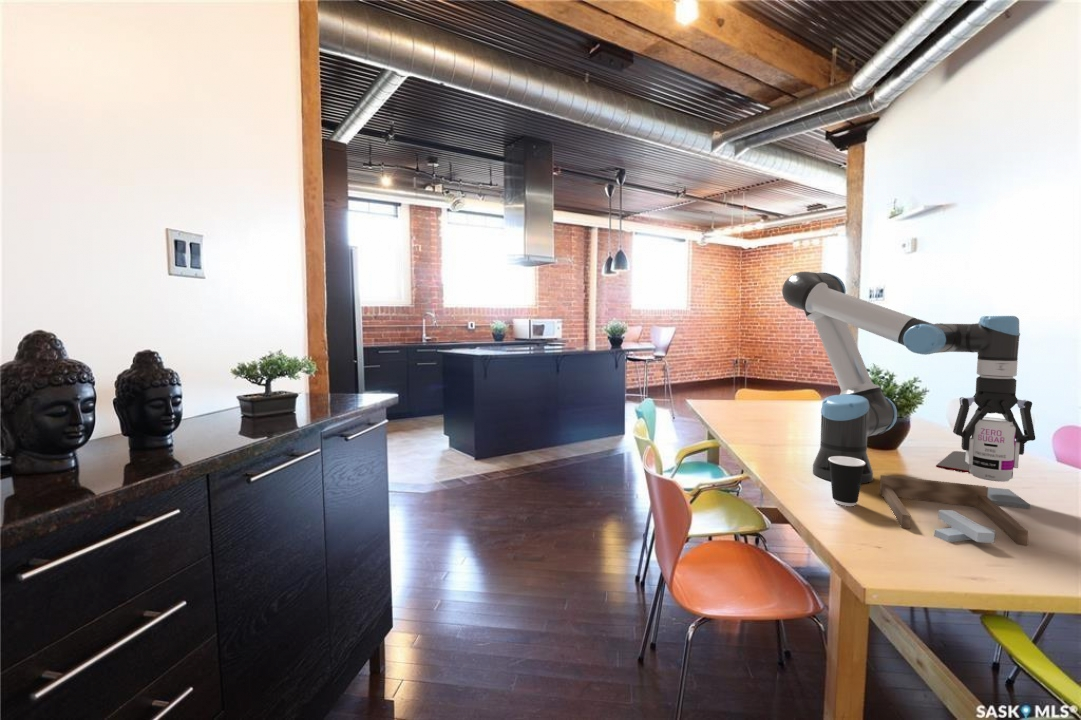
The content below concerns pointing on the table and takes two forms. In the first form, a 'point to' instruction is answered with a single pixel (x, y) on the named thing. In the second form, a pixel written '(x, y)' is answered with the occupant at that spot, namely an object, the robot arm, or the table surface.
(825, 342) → the robot arm
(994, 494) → the pad
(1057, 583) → the table surface
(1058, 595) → the table surface
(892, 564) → the table surface
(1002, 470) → the supplement can
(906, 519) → the rack
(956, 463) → the smartphone
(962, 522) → the offcut upper
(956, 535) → the offcut lower
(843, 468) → the dixie cup
